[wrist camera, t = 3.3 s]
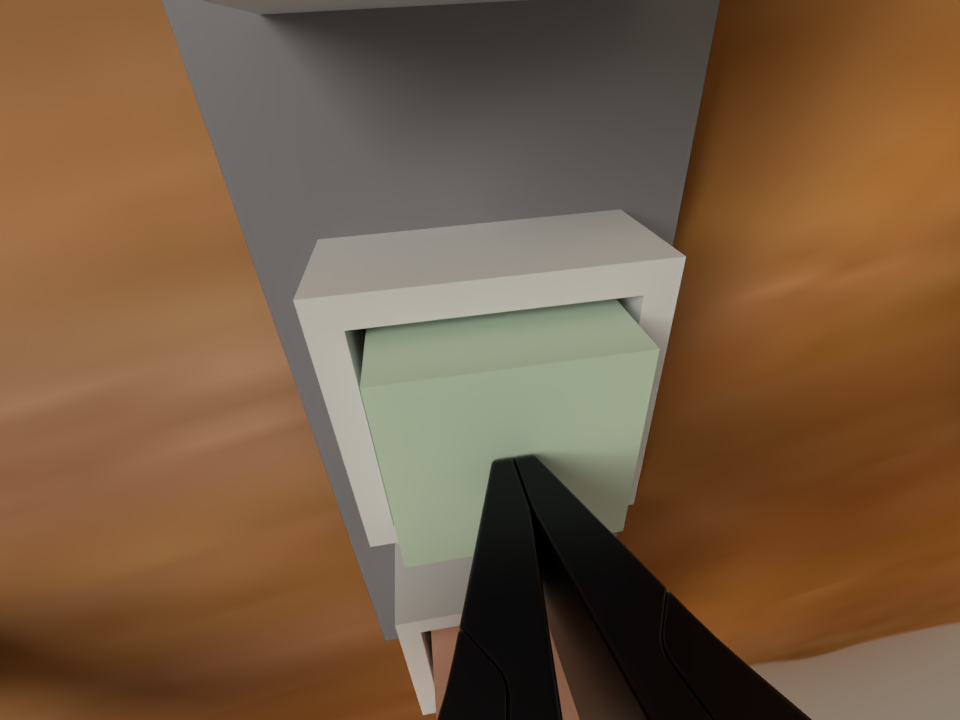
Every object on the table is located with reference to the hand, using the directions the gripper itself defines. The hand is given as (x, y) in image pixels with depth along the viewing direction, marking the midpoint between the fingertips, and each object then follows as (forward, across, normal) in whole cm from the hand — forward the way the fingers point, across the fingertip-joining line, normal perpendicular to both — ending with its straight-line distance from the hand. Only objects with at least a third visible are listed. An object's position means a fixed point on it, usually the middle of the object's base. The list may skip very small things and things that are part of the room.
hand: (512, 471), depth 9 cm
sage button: (+4, 0, 0) cm, 4 cm away
